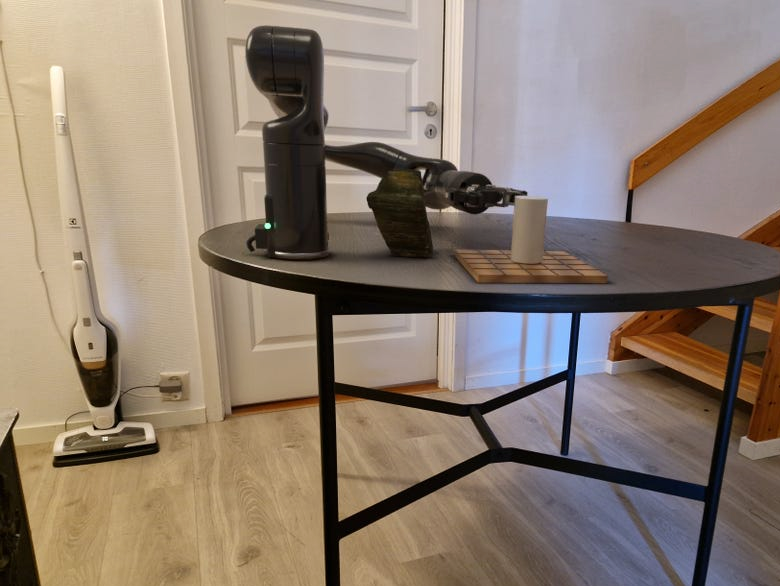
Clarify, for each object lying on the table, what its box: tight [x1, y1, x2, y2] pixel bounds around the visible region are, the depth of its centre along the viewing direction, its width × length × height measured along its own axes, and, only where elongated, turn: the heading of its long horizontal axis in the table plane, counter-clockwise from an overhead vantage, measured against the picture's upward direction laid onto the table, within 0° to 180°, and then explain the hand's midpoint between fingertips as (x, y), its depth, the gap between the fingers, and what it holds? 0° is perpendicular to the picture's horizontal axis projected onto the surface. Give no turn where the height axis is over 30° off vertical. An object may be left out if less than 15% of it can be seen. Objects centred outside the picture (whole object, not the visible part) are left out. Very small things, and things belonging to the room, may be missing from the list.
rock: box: [366, 167, 434, 259], centre depth 104 cm, size 12×9×15 cm
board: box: [454, 248, 609, 284], centre depth 100 cm, size 20×20×1 cm
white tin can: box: [510, 195, 549, 264], centre depth 98 cm, size 5×5×10 cm
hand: (503, 201), depth 105 cm, fingers open, 8 cm apart
